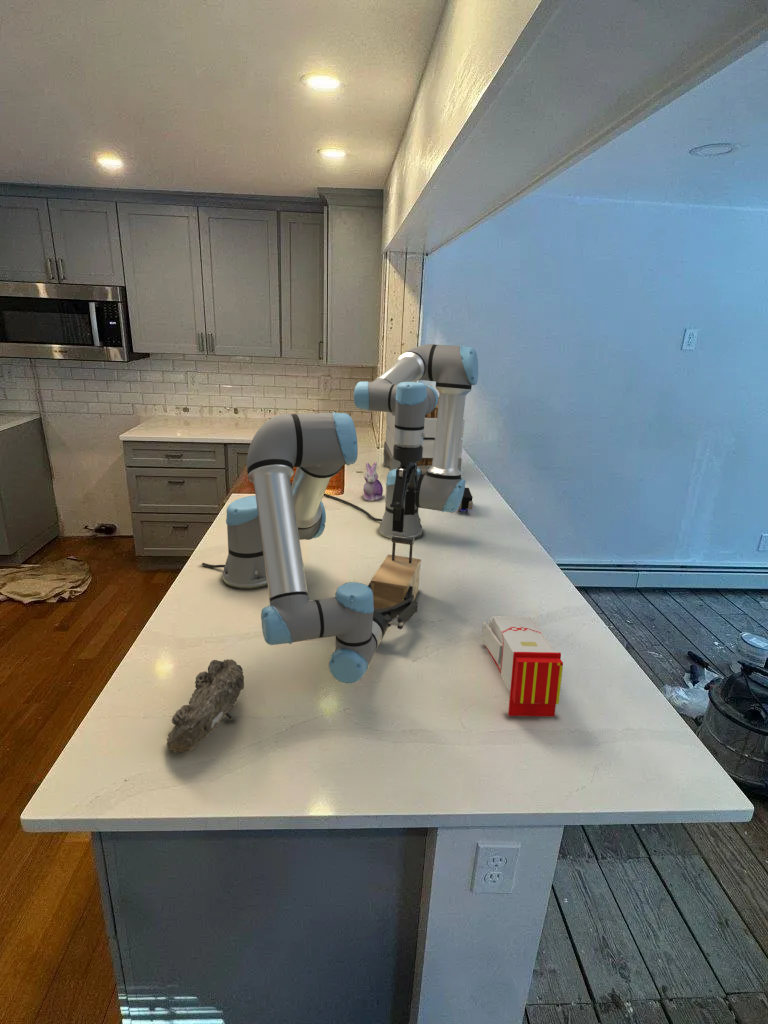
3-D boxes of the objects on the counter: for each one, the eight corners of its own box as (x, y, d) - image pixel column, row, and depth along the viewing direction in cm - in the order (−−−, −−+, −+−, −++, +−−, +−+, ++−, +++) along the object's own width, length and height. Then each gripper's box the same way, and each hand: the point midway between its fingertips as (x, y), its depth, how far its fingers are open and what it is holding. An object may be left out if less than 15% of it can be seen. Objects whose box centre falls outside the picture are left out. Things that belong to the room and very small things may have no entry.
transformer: (382, 463, 289) (386, 382, 275) (445, 464, 293) (451, 384, 279) (390, 482, 257) (394, 392, 243) (460, 483, 261) (468, 394, 247)
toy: (528, 601, 136) (572, 659, 107) (523, 653, 139) (565, 722, 110) (478, 600, 136) (508, 657, 107) (474, 652, 139) (503, 722, 109)
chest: (385, 585, 162) (387, 558, 159) (418, 591, 160) (420, 563, 157) (369, 613, 147) (370, 583, 144) (405, 619, 145) (407, 589, 142)
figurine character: (473, 518, 221) (467, 502, 235) (475, 501, 218) (469, 485, 231) (455, 518, 221) (451, 501, 234) (457, 500, 218) (453, 485, 231)
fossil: (192, 660, 117) (244, 628, 112) (224, 691, 120) (276, 661, 115) (142, 746, 98) (202, 712, 93) (182, 779, 101) (242, 748, 96)
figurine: (367, 502, 230) (368, 467, 225) (357, 495, 238) (358, 460, 233) (388, 500, 234) (389, 465, 229) (377, 492, 242) (378, 458, 237)
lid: (387, 556, 160) (389, 529, 157) (421, 561, 158) (423, 534, 155) (370, 583, 144) (371, 553, 142) (407, 588, 142) (409, 558, 139)
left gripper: (320, 637, 131) (350, 593, 151) (414, 655, 125) (432, 607, 146) (320, 608, 128) (351, 568, 148) (416, 625, 123) (435, 581, 143)
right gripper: (412, 457, 132) (406, 541, 139) (431, 436, 155) (426, 509, 162) (381, 453, 134) (377, 536, 141) (405, 433, 157) (401, 506, 164)
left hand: (391, 587), depth 147 cm, fingers closed on chest, 9 cm apart
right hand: (403, 522), depth 152 cm, fingers open, 13 cm apart
